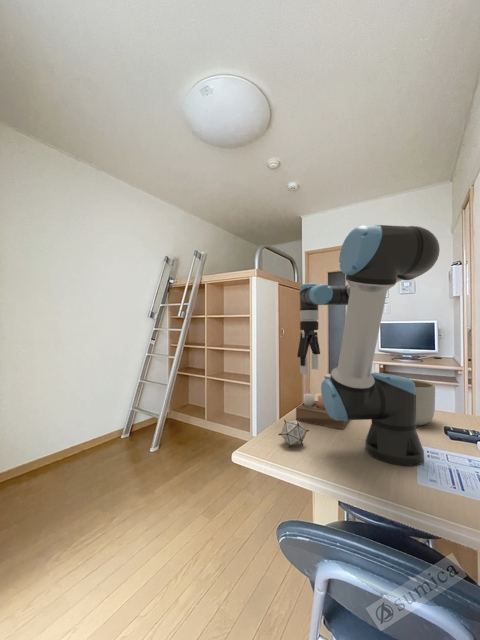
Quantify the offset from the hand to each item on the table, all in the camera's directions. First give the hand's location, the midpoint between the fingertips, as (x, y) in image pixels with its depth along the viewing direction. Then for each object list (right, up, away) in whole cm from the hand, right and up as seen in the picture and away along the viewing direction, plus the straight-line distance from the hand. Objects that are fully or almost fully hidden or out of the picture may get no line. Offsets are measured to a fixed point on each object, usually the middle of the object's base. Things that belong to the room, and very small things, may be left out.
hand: (309, 371), depth 114 cm
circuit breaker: (+16, -19, +13) cm, 28 cm away
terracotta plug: (+5, -15, -4) cm, 16 cm away
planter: (+38, -19, -7) cm, 43 cm away
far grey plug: (0, -15, 0) cm, 15 cm away
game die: (-12, -18, -27) cm, 35 cm away
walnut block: (+5, -19, -4) cm, 20 cm away
